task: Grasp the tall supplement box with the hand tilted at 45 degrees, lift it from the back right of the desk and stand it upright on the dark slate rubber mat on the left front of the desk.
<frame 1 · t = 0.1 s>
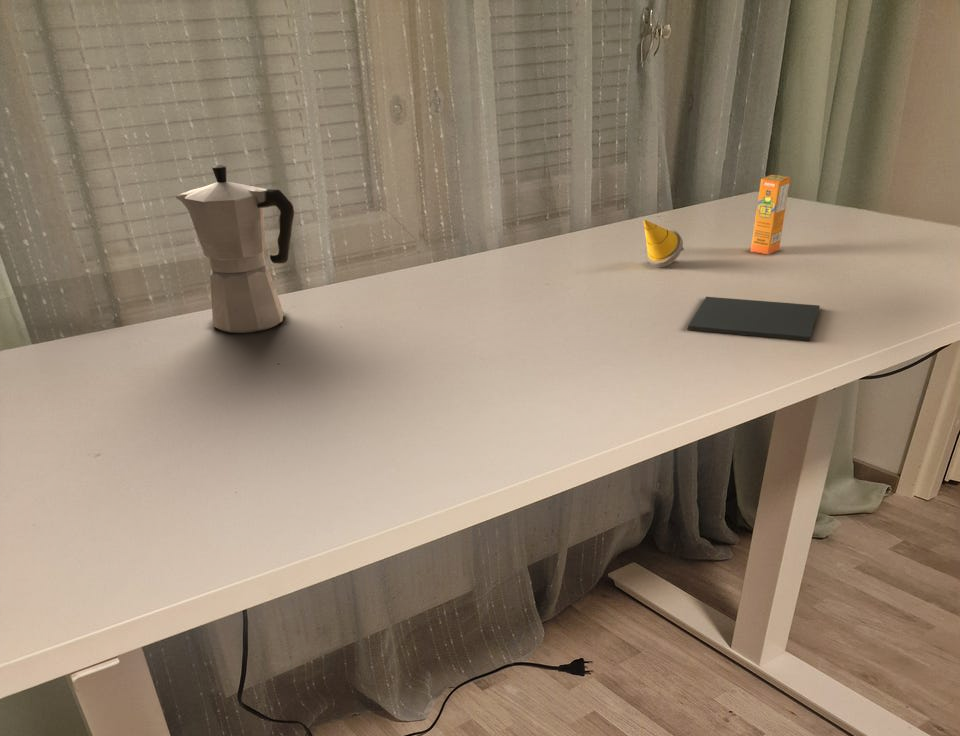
supplement box: (763, 252, 129), on the table
mat: (754, 319, 105), on the table
yellow cone on disc: (660, 268, 124), on the table
coffeepot: (257, 323, 111), on the table
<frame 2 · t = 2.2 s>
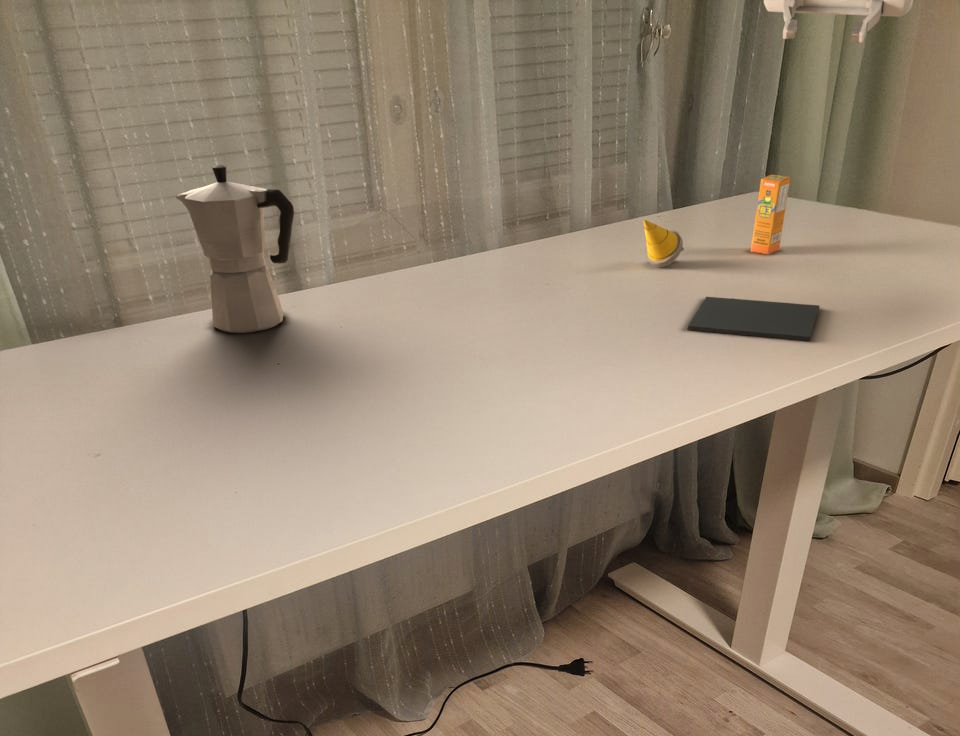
hand: (822, 37, 120), 26 cm above the table, tool tilted 40°, fingers open, 8 cm apart
nothing on the table moved.
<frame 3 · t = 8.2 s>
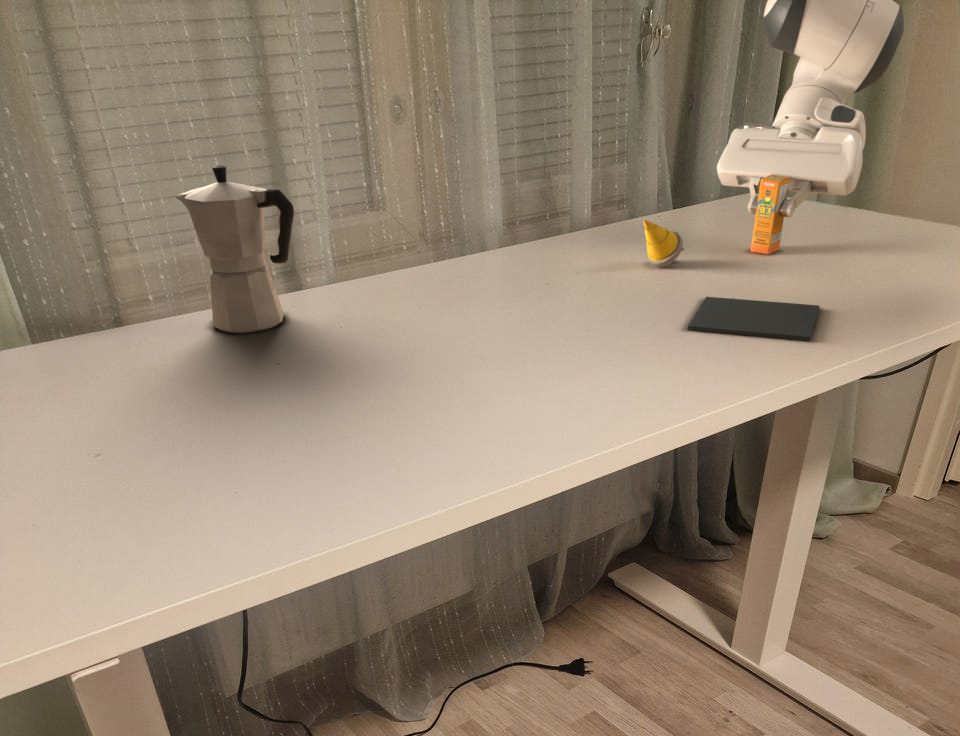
hand: (769, 213, 125), 5 cm above the table, tool tilted 45°, fingers closed on supplement box, 3 cm apart
supplement box: (763, 252, 129), on the table, touching gripper
everything else where it was.
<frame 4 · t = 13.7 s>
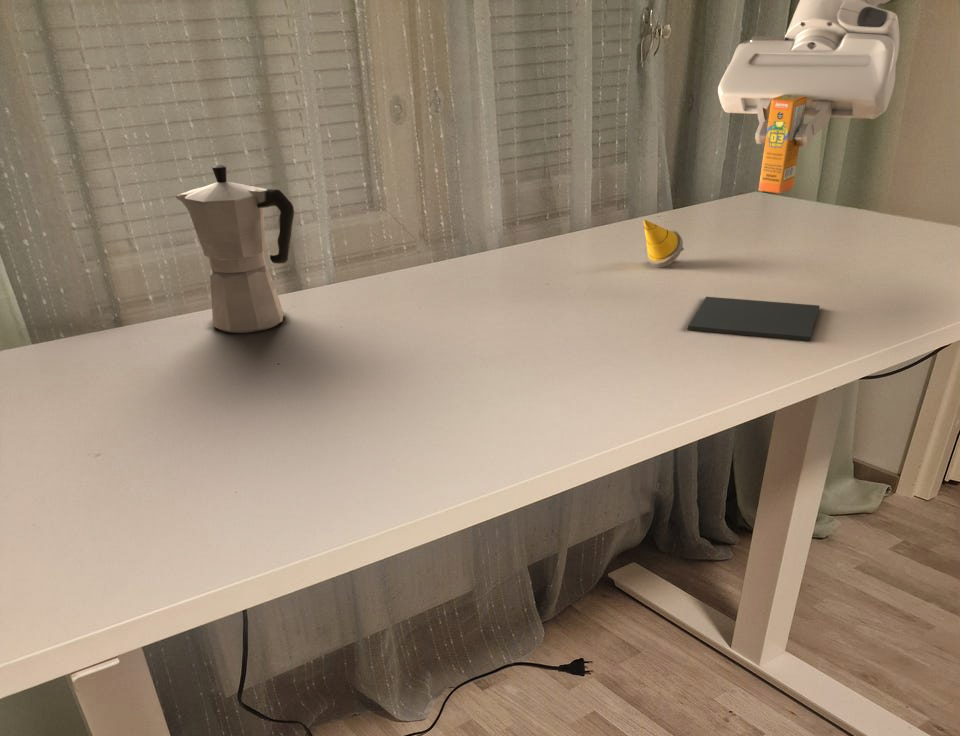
hand: (781, 142, 104), 17 cm above the table, tool tilted 45°, fingers closed on supplement box, 3 cm apart
supplement box: (774, 192, 107), point 12 cm above the table, touching gripper
everything else where it was.
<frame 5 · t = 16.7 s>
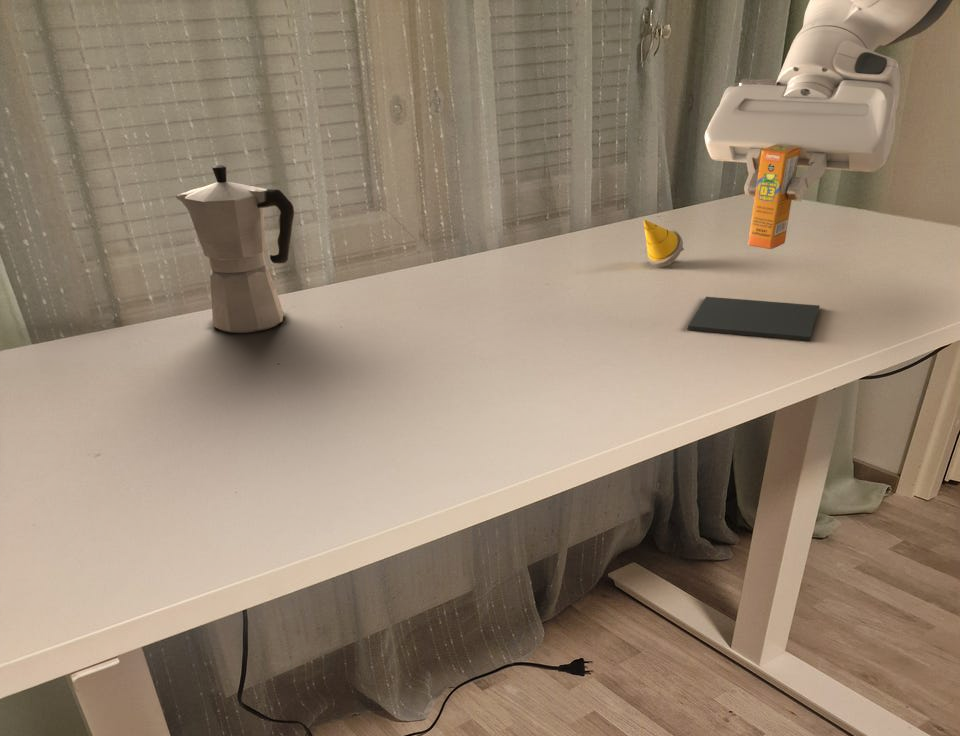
hand: (772, 195, 96), 14 cm above the table, tool tilted 45°, fingers closed on supplement box, 3 cm apart
supplement box: (765, 247, 100), point 8 cm above the table, touching gripper
everything else where it was.
when the fingers open (6 cm above the table, at t = 19.2 s): supplement box stays where it is, resting on mat.
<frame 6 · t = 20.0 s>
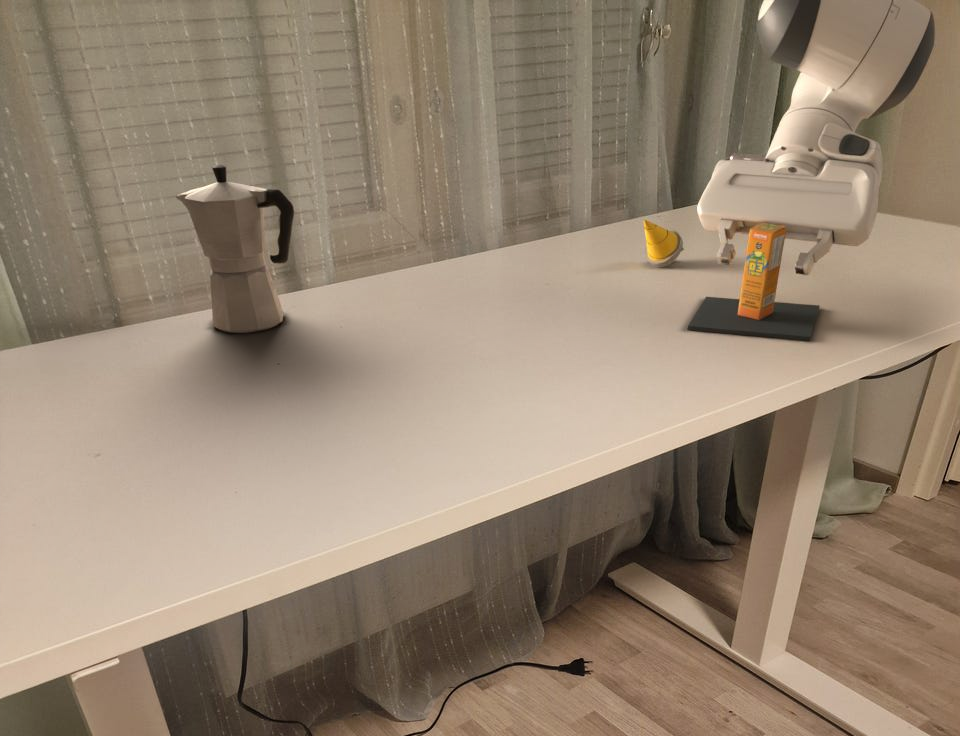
hand: (761, 266, 101), 6 cm above the table, tool tilted 45°, fingers open, 8 cm apart
supplement box: (754, 316, 105), resting on mat
everything else where it was.
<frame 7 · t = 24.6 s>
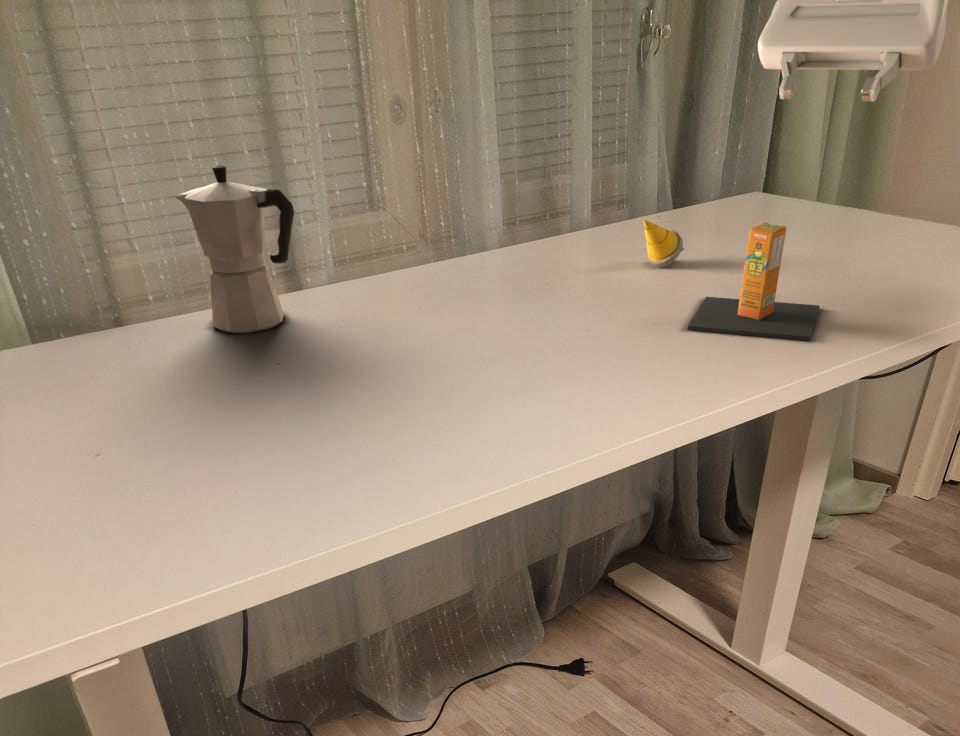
hand: (825, 96, 99), 22 cm above the table, tool tilted 45°, fingers open, 8 cm apart
nothing on the table moved.
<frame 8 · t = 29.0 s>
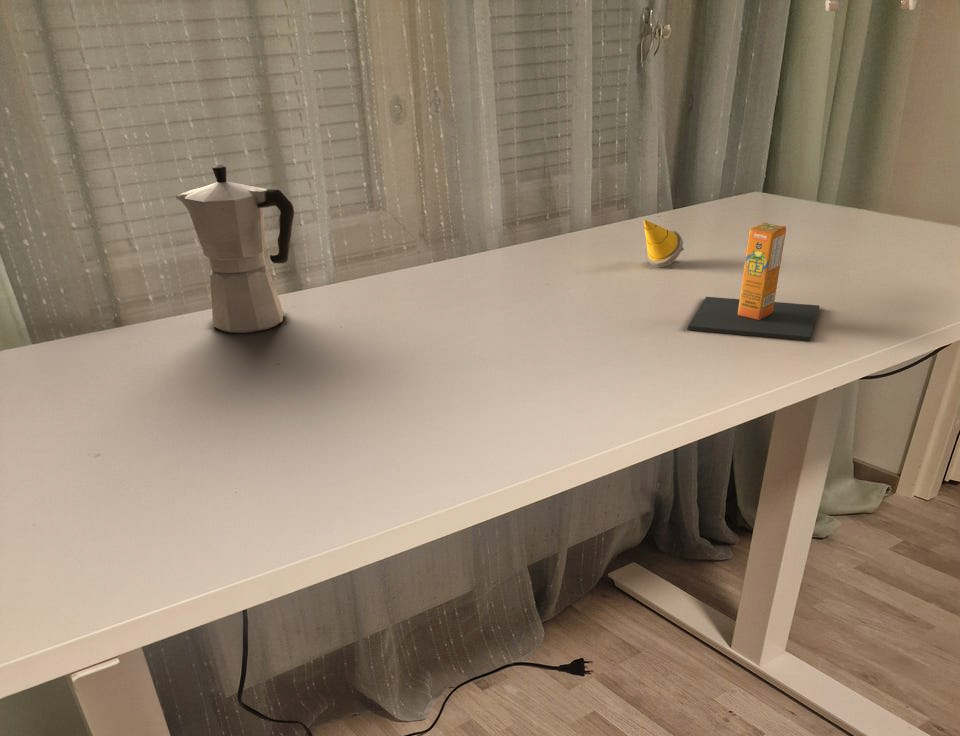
hand: (868, 6, 110), 29 cm above the table, tool tilted 45°, fingers open, 8 cm apart
nothing on the table moved.
at the end: supplement box inside the target area on the mat (0.1 cm from its centre), point 0.3 cm above the mat's base; supplement box tilted 0°; the gripper is holding nothing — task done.
